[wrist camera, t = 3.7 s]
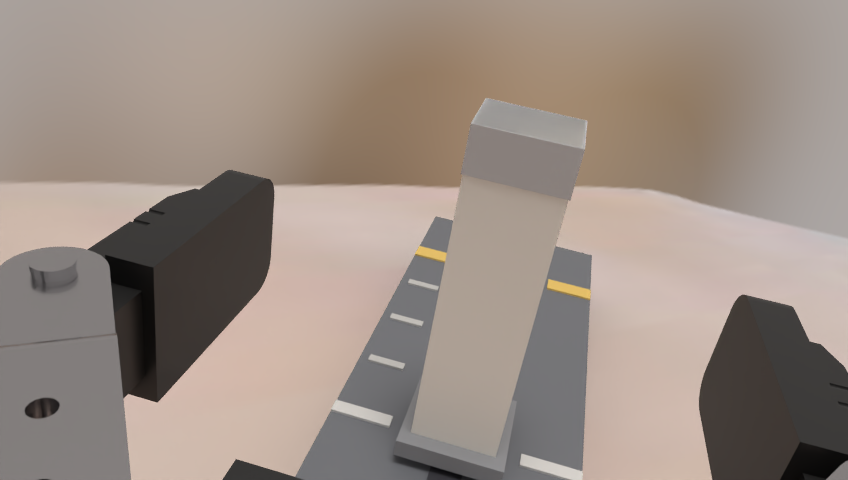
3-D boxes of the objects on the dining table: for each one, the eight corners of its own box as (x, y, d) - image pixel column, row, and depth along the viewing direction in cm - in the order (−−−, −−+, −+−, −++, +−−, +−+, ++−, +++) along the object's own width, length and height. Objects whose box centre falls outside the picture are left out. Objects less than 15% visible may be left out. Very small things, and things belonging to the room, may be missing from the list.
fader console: (557, 641, 23) (577, 591, 22) (278, 550, 25) (282, 498, 23) (581, 289, 44) (592, 254, 43) (429, 250, 46) (436, 214, 44)
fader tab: (500, 486, 25) (597, 158, 19) (393, 454, 26) (455, 126, 20) (513, 414, 29) (598, 118, 23) (419, 387, 29) (478, 91, 23)
